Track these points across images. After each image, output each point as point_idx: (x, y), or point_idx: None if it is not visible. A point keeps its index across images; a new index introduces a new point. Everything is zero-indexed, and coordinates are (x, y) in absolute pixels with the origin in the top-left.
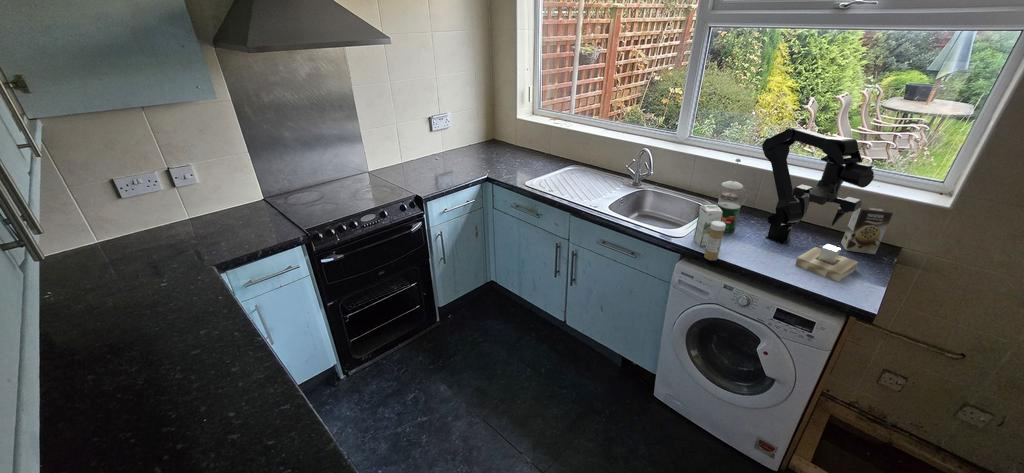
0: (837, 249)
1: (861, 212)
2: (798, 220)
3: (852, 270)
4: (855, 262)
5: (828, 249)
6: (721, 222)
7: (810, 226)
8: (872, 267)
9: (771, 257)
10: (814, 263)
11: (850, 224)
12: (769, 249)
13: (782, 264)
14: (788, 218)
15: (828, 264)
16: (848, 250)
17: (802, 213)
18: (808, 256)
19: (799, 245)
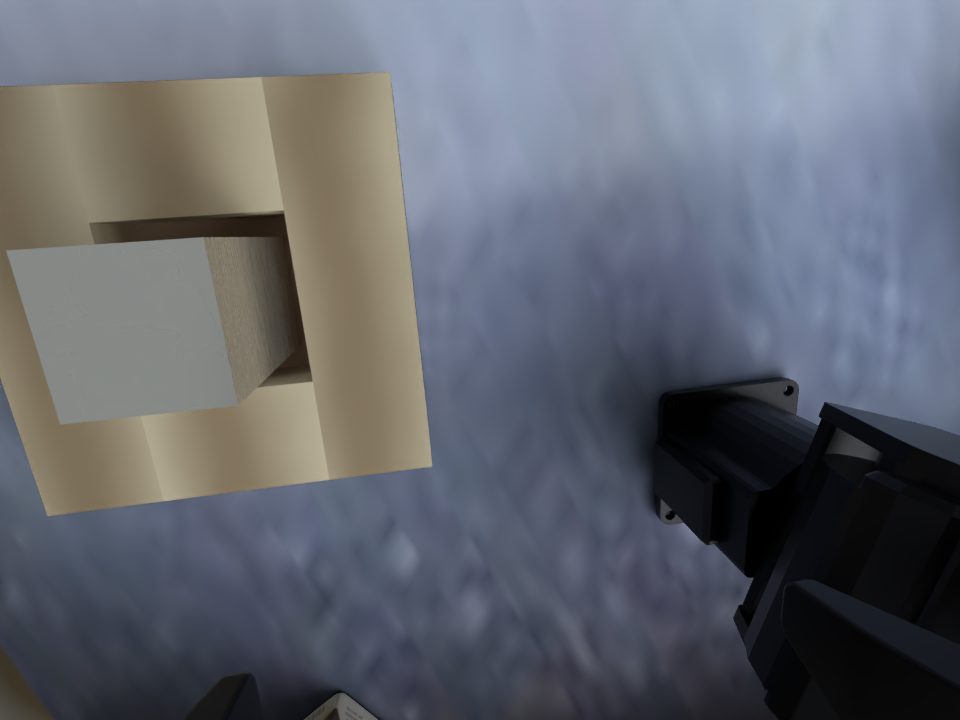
0: (57, 348)
1: None
2: (759, 621)
3: None
4: (49, 483)
5: (116, 243)
6: None
7: None
8: (75, 618)
9: (589, 61)
10: (210, 88)
11: None
12: (672, 205)
13: (461, 7)
14: (887, 478)
15: (129, 205)
16: (326, 701)
17: (869, 612)
18: (345, 205)
19: (566, 485)
